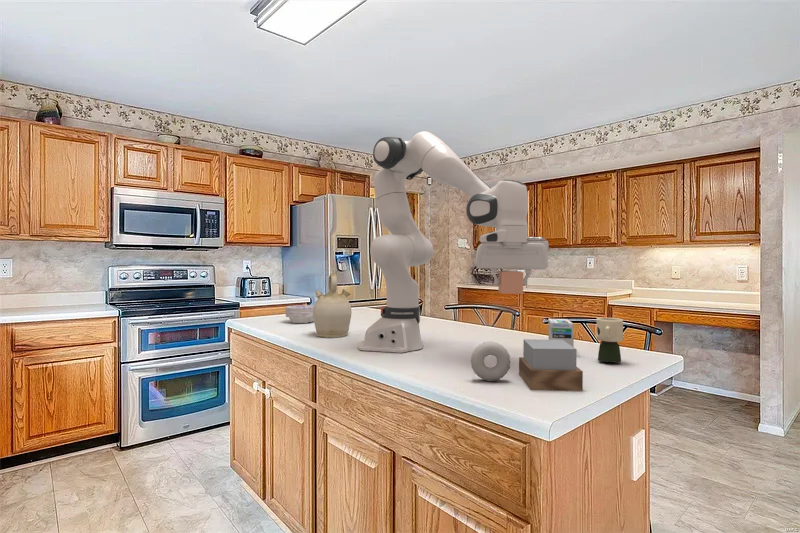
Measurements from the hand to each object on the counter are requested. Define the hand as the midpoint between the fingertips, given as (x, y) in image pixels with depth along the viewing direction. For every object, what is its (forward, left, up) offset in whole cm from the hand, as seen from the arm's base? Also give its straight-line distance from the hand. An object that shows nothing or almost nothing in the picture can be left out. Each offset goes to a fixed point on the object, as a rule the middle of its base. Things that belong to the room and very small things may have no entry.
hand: (510, 285), depth 128 cm
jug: (-63, +46, -24) cm, 81 cm away
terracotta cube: (0, 0, -2) cm, 2 cm away
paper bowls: (-86, +80, -24) cm, 120 cm away
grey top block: (+7, -16, -19) cm, 26 cm away
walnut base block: (+7, -16, -24) cm, 29 cm away
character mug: (+30, +7, -24) cm, 39 cm away
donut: (-7, -16, -24) cm, 29 cm away
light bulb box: (+19, +19, -24) cm, 36 cm away
